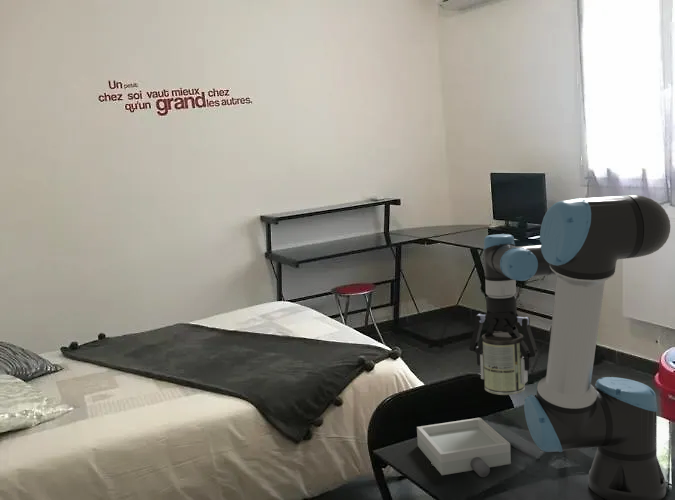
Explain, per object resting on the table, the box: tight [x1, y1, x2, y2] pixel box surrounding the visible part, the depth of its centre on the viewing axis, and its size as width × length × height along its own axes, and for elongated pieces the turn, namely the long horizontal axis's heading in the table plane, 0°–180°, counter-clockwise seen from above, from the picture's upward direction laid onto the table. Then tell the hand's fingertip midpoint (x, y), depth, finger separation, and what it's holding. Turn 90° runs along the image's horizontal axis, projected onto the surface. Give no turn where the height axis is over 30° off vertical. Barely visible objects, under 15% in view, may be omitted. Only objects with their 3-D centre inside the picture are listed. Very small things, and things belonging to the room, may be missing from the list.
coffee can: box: [481, 331, 526, 396], centre depth 179 cm, size 10×10×14 cm
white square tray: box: [416, 417, 512, 478], centre depth 166 cm, size 21×17×5 cm
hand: (504, 380), depth 179 cm, fingers closed on coffee can, 10 cm apart
